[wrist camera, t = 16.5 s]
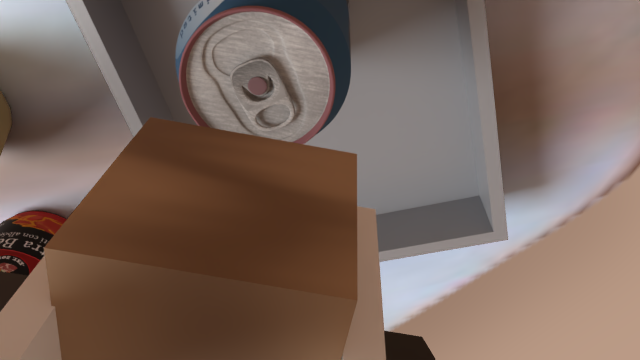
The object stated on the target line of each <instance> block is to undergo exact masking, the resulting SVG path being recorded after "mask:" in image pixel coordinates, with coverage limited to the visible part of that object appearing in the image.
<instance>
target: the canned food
mask: <svg viewBox="0 0 640 360" xmlns="http://www.w3.org/2000/svg"><path fill="white" fill-rule="evenodd" d="M66 220H67V219H65V218H63V217H61V216H58V215H56V214H52V213H48V212H41V211H29V212H23V213H20V214H17V215H15V216H13V217H11V218H9V219H7V220H5V221H3V222H2V223H1V224H0V271H2V272H8V273H15V274H21V275H27V276H29V275H30V273H31V272H32V271H33V270H34V268H35V267H36V266H37V264H38V263H39V262H40V261H41V259H42V258H43V257H44V255H45V253H44V247H45V246H46V245H47V243H48V242H49V241H50V240H51V238H52V237H53V236H54V235H55V233H56V232H57V231H58V230H59V229H60V227H61V226H62V225H63V224H64V222H65V221H66Z"/></svg>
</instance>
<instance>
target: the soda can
mask: <svg viewBox="0 0 640 360" xmlns="http://www.w3.org/2000/svg"><path fill="white" fill-rule="evenodd" d="M175 64H176V73H177V78H178V81H179V86H180V92H181V96H182V99H183V101H184V104H185V106H186V108H187V110H188V112H189V114H190V115H191V117H192V118H193V120H194V121H195V122H196V124H197V125H198V126H203V127H209V128H215V129H220V130H226V131H231V132H237V133H243V134H248V135H254V136H259V137H265V138H271V139H276V140H282V141H287V142H293V143H299V144H305V143H306V142H308V141H309V140H310V139H311V138H313V137H314V136H315V135H316V134H318V133H319V132H321V131H322V130H323V129H324V128H325V127H326V126H327V125H328V124H329V123H330V122H331V121H332V120H333V119H334V118H335V116H336V115H337V114H338V112H339V110H340V109H341V107H342V105H343V103H344V101H345V99H346V96H347V93H348V90H349V85H350V79H351V45H350V6H349V0H200V1H199V2H198V3H197V4H196V5H195V6H194V7H193V9H192V10H191V11H190V13H189V14H188V16H187V17H186V19H185V21H184V23H183V25H182V27H181V30H180V32H179V36H178V40H177V44H176V54H175Z"/></svg>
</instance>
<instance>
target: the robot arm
mask: <svg viewBox="0 0 640 360" xmlns="http://www.w3.org/2000/svg"><path fill="white" fill-rule="evenodd" d="M357 291H358V301H357V304H356V308H355V311H354V315H353V318H352V322H351V326H350V329H349V333H348V336H347V340H346V343H345V347H344V350H343V354H342V358H341V360H435V358H434V356H433V354H432V353H431V351H430V349H429V348H428V346H427V344H426V343H425V341H424V340H423V338H422V337H419V336H413V335H407V334H401V333H394V332H388V331H384V323H383V308H382V294H381V280H380V266H379V251H378V237H377V223H376V209H370V208H365V207H359V206H357ZM0 360H62V358H61V350H60V342H59V334H58V326H57V319H56V311H55V306H51V299H50V291H49V284H48V276H47V268H46V261H45V255H44V257H43V258H42V259H41V261H40V262H39V263H38V264H37V266H36V267H35V268H34V270H33V271H32V272H31V273H30V275H29V276H27V275H21V274H15V273H8V272H2V271H0Z"/></svg>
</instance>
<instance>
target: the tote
mask: <svg viewBox="0 0 640 360" xmlns="http://www.w3.org/2000/svg"><path fill="white" fill-rule="evenodd" d="M199 1H200V0H66V2H67V4H68V6H69V8H70V10H71V12H72V14H73V16H74V18H75V20H76V22H77V24H78V26H79V28H80V30H81V32H82V34H83V36H84V38H85V40H86V42H87V44H88V46H89V48H90V50H91V52H92V54H93V57H94V59H95V61H96V63H97V65H98V67H99V69H100V71H101V73H102V75H103V77H104V79H105V81H106V83H107V85H108V87H109V89H110V91H111V93H112V95H113V97H114V99H115V101H116V103H117V105H118V107H119V109H120V111H121V113H122V115H123V117H124V119H125V121H126V123H127V125H128V127H129V129H130V131H131V133H132V135H133V137H135V135H136V134H137V133H138V132H139V130H140V129H141V128H142V127H143V125H144V124H145V123H146V122H147V121H148V119H149V118H150V117H153V118H158V119H164V120H170V121H175V122H181V123H186V124H192V125H197V124H196V122H195V121H194V120H193V118H192V117H191V115H190V114H189V112H188V110H187V108H186V106H185V104H184V101H183V99H182V96H181V92H180V86H179V81H178V78H177V73H176V64H175V54H176V44H177V40H178V36H179V32H180V30H181V27H182V25H183V23H184V21H185V19H186V17H187V16H188V14H189V13H190V11H191V10H192V9H193V7H194V6H195V5H196V4H197V3H198V2H199ZM349 6H350V45H351V79H350V85H349V90H348V93H347V96H346V99H345V101H344V103H343V105H342V107H341V109H340V110H339V112H338V114H337V115H336V116H335V118H334V119H333V120H332V121H331V122H330V123H329V124H328V125H327V126H326V127H325V128H324V129H323V130H322V131H321V132H319V133H318V134H316V135H315V136H314V137H313V138H311V139H310V140H309V141H308V142H306V143H305V144H304V145H310V146H316V147H321V148H327V149H332V150H338V151H344V152H349V153H355V154H357V206H359V207H365V208H370V209H376V223H377V237H378V251H379V262H382V261H387V260H393V259H399V258H405V257H411V256H416V255H422V254H428V253H434V252H440V251H445V250H451V249H457V248H463V247H469V246H474V245H480V244H486V243H492V242H498V241H503V240H508V233H507V223H506V213H505V203H504V192H503V182H502V172H501V162H500V152H499V142H498V132H497V121H496V111H495V101H494V91H493V81H492V71H491V60H490V50H489V40H488V30H487V20H486V10H485V0H349Z"/></svg>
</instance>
